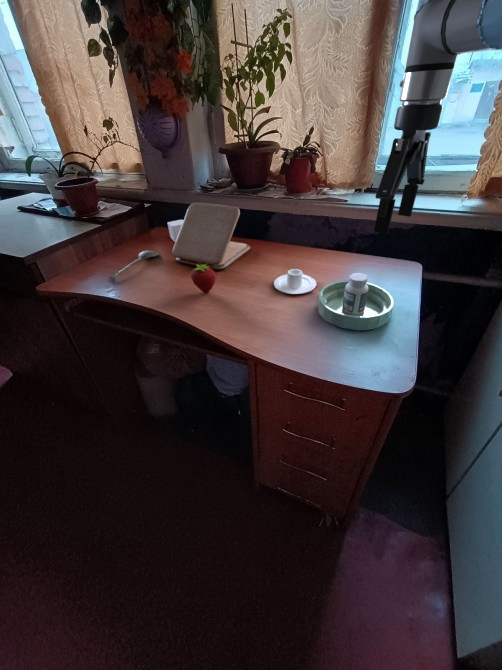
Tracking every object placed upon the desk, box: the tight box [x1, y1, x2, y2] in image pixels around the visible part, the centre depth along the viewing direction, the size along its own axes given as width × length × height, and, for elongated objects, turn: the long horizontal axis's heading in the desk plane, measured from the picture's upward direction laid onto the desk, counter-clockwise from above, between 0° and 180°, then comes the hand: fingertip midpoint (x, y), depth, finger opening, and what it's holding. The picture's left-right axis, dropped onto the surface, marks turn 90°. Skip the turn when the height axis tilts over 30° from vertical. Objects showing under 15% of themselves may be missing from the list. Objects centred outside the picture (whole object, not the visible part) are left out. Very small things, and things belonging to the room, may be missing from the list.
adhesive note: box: [167, 219, 184, 243], centre depth 122 cm, size 6×6×6 cm
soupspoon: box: [109, 249, 160, 282], centre depth 104 cm, size 22×3×7 cm
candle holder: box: [273, 268, 317, 295], centre depth 88 cm, size 12×12×4 cm
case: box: [171, 202, 251, 271], centre depth 104 cm, size 20×21×16 cm
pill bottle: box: [343, 272, 369, 315], centre depth 74 cm, size 5×5×9 cm
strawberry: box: [190, 264, 217, 295], centre depth 85 cm, size 6×8×10 cm
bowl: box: [316, 280, 395, 331], centre depth 76 cm, size 17×17×4 cm
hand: (393, 223), depth 68 cm, fingers open, 13 cm apart
